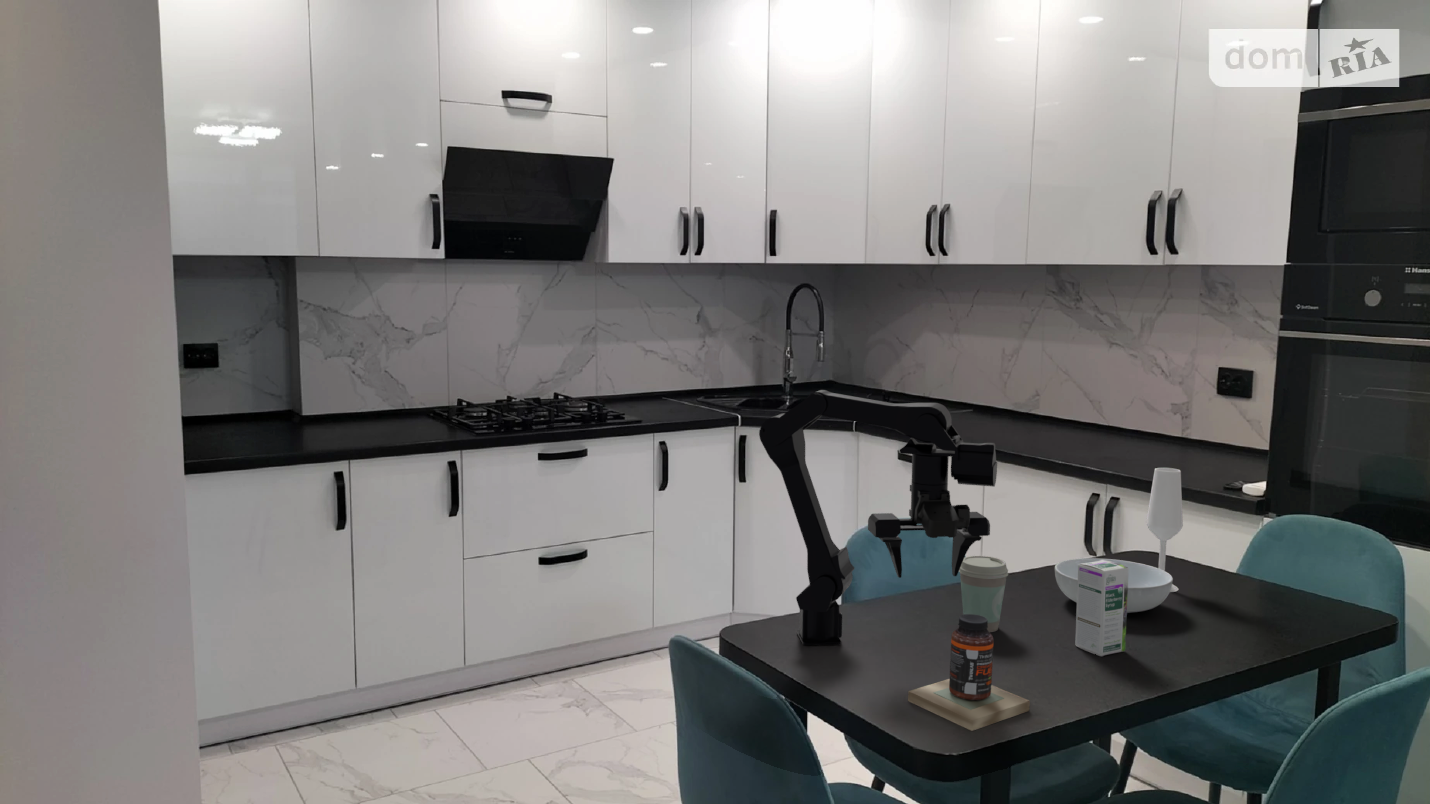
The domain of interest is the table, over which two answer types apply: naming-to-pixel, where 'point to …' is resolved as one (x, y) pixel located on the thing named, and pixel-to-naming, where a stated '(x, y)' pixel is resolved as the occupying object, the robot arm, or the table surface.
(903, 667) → the table surface
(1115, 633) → the syrup box
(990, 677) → the supplement bottle
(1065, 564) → the serving bowl
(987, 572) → the coffee cup
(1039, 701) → the table surface
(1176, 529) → the champagne flute
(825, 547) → the robot arm
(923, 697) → the board
